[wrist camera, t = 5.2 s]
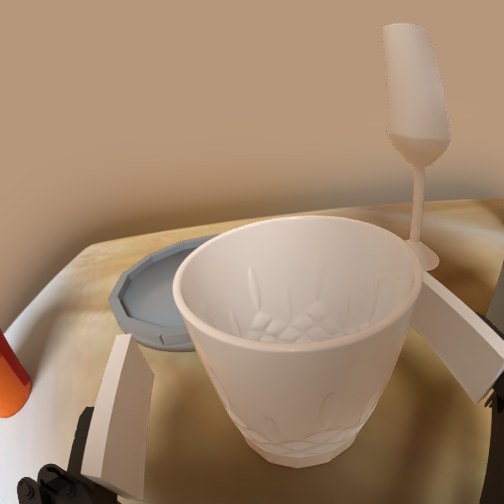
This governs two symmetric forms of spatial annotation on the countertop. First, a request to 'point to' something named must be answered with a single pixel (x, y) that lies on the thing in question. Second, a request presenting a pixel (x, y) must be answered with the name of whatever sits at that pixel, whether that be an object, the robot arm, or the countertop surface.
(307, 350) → the white cup
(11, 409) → the coffee cup
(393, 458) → the countertop surface
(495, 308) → the spray bottle
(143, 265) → the plate
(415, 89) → the champagne flute
